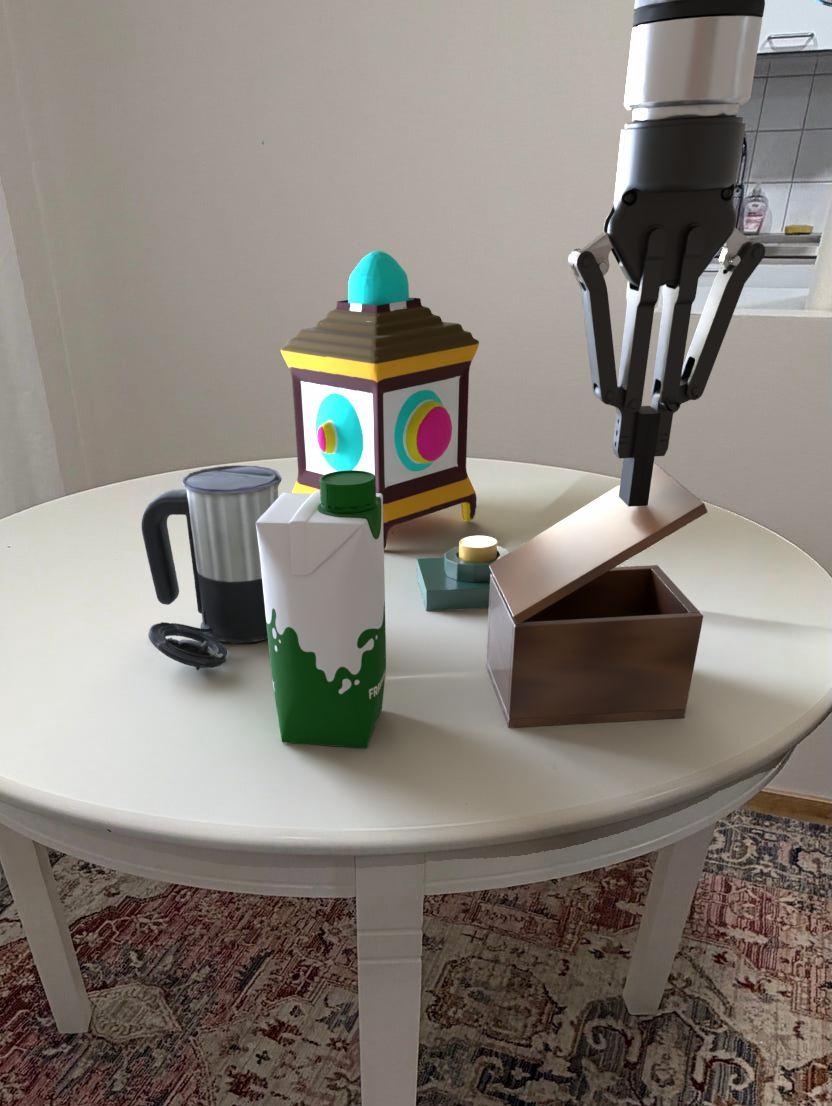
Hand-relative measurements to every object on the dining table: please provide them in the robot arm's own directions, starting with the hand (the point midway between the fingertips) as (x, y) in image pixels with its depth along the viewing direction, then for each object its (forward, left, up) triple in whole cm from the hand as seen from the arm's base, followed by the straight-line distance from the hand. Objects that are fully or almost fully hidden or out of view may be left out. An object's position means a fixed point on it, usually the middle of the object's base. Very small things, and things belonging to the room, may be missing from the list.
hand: (633, 500), depth 73 cm
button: (+19, -18, -13) cm, 29 cm away
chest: (+2, +1, -16) cm, 16 cm away
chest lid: (+3, +1, -3) cm, 4 cm away
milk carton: (+19, +15, -16) cm, 29 cm away
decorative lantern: (+39, -36, -16) cm, 55 cm away
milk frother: (+37, +4, -16) cm, 41 cm away
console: (+19, -18, -16) cm, 31 cm away
